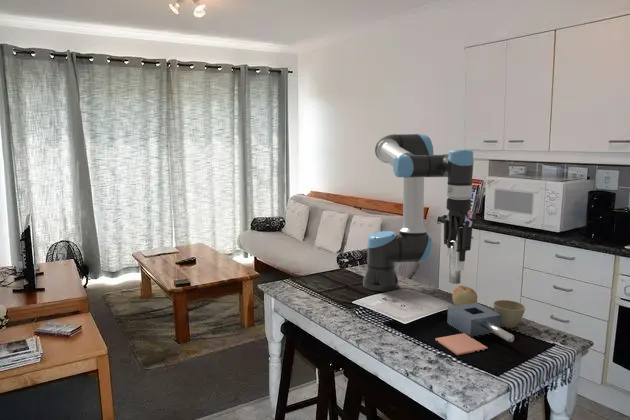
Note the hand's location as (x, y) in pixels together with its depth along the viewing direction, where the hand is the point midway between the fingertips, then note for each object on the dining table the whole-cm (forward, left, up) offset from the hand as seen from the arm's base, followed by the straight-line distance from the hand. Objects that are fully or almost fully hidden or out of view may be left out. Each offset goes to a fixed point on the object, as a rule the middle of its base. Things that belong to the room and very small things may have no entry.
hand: (455, 268), depth 152 cm
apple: (-14, +16, -21) cm, 30 cm away
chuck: (+7, +7, -21) cm, 23 cm away
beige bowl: (+4, +20, -21) cm, 29 cm away
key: (0, 0, -5) cm, 5 cm away
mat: (+11, -5, -21) cm, 24 cm away
